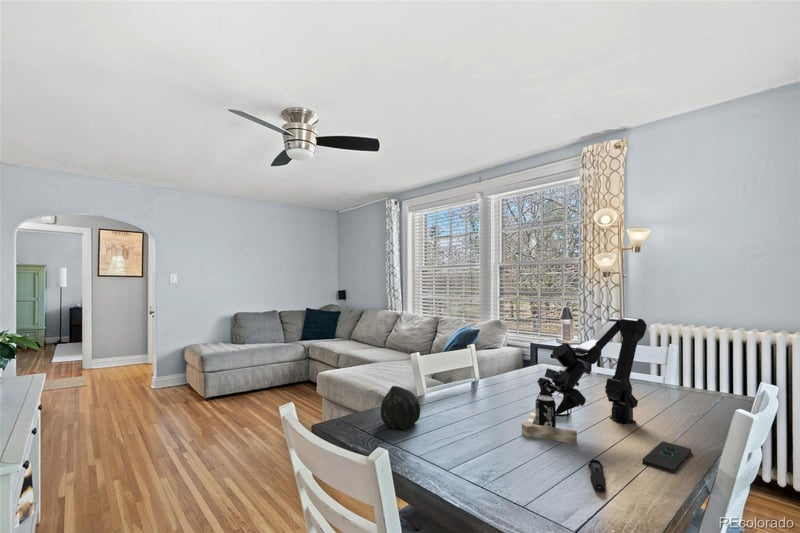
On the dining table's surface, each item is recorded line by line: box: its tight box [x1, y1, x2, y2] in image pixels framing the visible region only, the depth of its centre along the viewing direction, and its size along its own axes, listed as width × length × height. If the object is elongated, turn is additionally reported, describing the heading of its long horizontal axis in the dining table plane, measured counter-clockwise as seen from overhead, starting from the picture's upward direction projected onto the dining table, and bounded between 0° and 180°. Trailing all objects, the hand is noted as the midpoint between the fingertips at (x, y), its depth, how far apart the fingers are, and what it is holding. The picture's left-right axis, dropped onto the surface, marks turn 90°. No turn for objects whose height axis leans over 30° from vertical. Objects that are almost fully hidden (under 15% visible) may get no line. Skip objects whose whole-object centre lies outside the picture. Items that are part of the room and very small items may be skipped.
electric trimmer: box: [588, 458, 606, 492], centre depth 105 cm, size 4×16×3 cm, turn 157°
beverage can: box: [535, 394, 557, 428], centre depth 137 cm, size 7×7×12 cm
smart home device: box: [641, 440, 692, 474], centre depth 118 cm, size 8×2×20 cm
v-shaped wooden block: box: [521, 410, 578, 445], centre depth 137 cm, size 13×23×4 cm, turn 19°
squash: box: [380, 385, 421, 430], centre depth 144 cm, size 14×15×15 cm
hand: (546, 409), depth 138 cm, fingers open, 9 cm apart
